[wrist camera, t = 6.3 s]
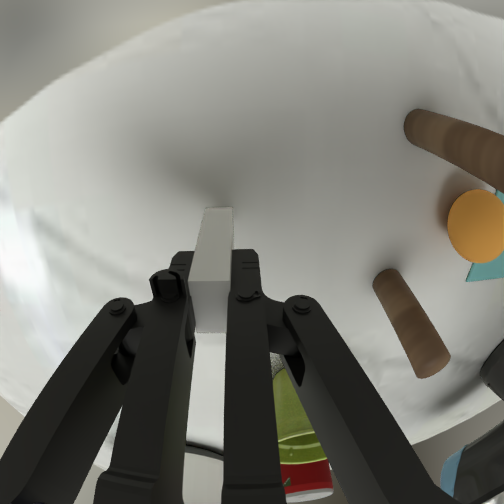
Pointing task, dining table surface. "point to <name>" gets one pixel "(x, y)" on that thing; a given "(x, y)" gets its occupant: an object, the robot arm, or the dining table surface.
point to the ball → (477, 226)
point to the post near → (459, 144)
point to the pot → (202, 476)
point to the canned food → (306, 481)
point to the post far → (411, 324)
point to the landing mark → (488, 263)
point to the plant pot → (293, 425)
